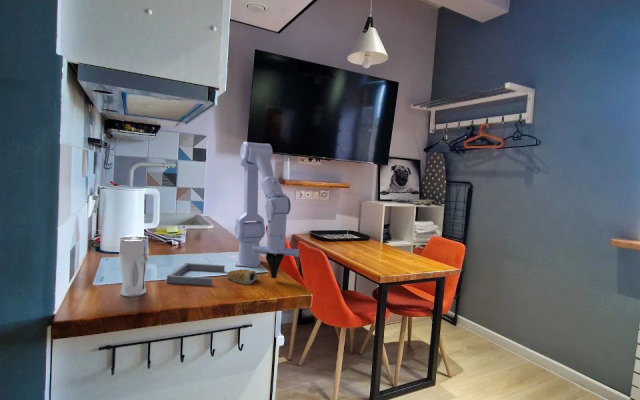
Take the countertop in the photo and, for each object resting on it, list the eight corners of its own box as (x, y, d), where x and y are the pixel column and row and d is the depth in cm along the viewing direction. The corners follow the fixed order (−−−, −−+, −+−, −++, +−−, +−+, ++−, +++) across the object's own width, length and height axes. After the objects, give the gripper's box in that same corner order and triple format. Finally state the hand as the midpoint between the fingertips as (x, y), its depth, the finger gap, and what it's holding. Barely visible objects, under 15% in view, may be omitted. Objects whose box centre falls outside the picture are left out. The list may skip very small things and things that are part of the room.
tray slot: (185, 268, 122) (186, 263, 122) (224, 271, 122) (224, 265, 122) (166, 282, 107) (167, 276, 107) (210, 285, 107) (211, 279, 107)
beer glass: (152, 289, 101) (153, 236, 100) (139, 298, 94) (141, 241, 93) (127, 287, 101) (128, 234, 100) (113, 296, 94) (113, 239, 93)
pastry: (221, 280, 113) (222, 268, 113) (234, 275, 119) (235, 264, 119) (247, 286, 109) (247, 273, 109) (259, 280, 116) (259, 268, 115)
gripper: (250, 235, 109) (248, 279, 111) (298, 238, 109) (296, 282, 111) (254, 231, 116) (252, 272, 118) (300, 234, 116) (297, 275, 118)
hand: (274, 277), depth 115 cm, fingers closed
